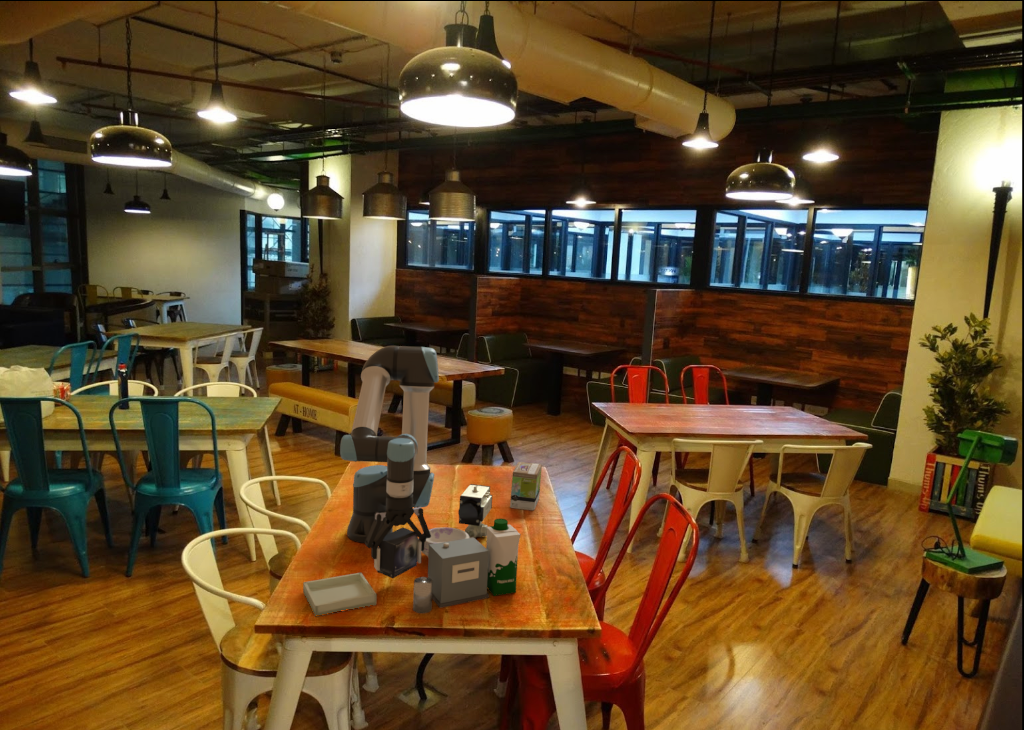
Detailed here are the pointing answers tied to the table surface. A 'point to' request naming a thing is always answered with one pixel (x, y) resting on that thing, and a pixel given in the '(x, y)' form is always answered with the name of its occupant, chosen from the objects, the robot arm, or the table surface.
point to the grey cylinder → (422, 595)
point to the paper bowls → (443, 537)
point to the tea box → (525, 486)
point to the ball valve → (475, 509)
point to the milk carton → (502, 557)
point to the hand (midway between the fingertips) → (397, 564)
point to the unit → (458, 571)
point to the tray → (339, 593)
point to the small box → (398, 552)
